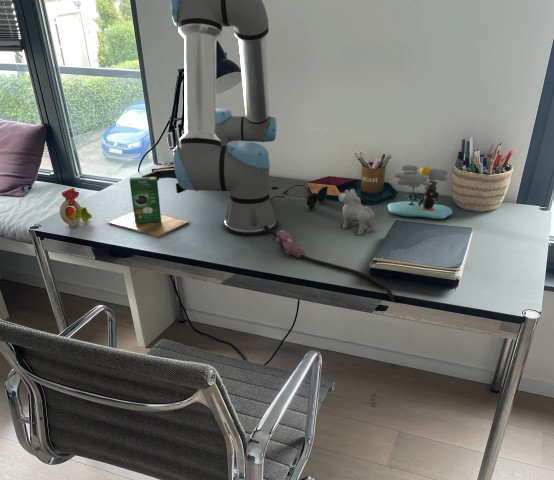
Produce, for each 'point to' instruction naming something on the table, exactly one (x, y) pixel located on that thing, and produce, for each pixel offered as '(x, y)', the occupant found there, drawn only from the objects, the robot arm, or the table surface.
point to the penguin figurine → (428, 205)
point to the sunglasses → (311, 196)
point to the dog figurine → (356, 211)
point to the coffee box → (145, 199)
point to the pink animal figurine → (289, 244)
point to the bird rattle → (70, 213)
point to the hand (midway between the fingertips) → (159, 184)
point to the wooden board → (150, 225)
